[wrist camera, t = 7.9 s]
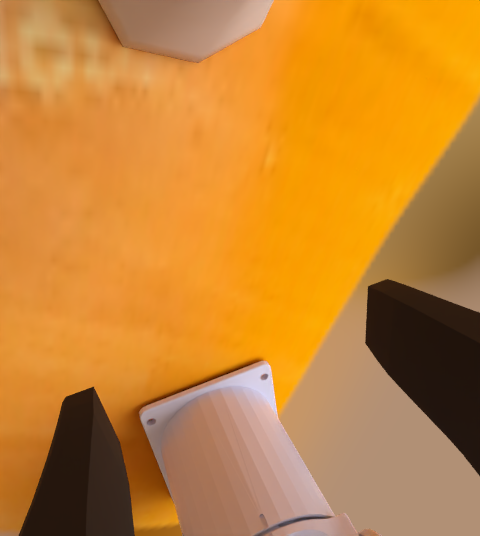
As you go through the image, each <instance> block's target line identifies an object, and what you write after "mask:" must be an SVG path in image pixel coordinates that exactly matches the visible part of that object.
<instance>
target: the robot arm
mask: <svg viewBox="0 0 480 536" xmlns="http://www.w3.org/2000/svg"><path fill="white" fill-rule="evenodd" d="M365 343H366V345H367V346H368V348H369V349H370V350H371V352H372V353H373V355H374V356H375V358H376V359H377V360H378V362H379V363H380V364H381V366H382V367H383V368H384V370H385V371H386V372H387V373H388V375H389V376H390V377H391V378H392V379H393V380H394V381H395V382H396V383H397V385H398V386H399V387H400V388H401V389H402V390H403V391H404V392H405V393H406V394H407V395H408V396H409V397H410V398H411V399H412V400H413V402H414V403H415V404H416V405H417V406H418V407H419V408H420V409H421V410H422V411H423V412H424V413H425V414H426V415H427V416H428V417H429V418H430V419H431V420H432V421H433V422H434V424H435V425H436V426H437V427H438V428H439V429H440V430H441V431H442V432H443V433H444V434H445V435H446V436H447V437H448V438H449V439H450V440H451V442H452V443H453V444H454V445H455V446H456V447H457V448H458V449H459V451H460V452H461V453H462V454H463V455H464V457H465V458H466V459H467V460H468V462H469V463H470V464H471V465H472V467H473V468H474V469H475V470H476V472H477V473H478V474H479V476H480V313H479V312H476V311H473V310H470V309H468V308H465V307H462V306H460V305H457V304H454V303H452V302H449V301H446V300H443V299H441V298H438V297H436V296H433V295H430V294H428V293H425V292H423V291H420V290H417V289H414V288H412V287H409V286H406V285H404V284H401V283H398V282H395V281H392V280H388V279H387V280H384V281H381V282H378V283H376V284H373V285H370V286H368V300H367V320H366V342H365ZM263 374H264V375H263ZM262 375H263V376H262ZM139 416H140V420H141V422H142V425H143V427H144V430H145V432H146V435H147V437H148V440H149V442H150V445H151V447H152V450H153V452H154V455H155V457H156V460H157V462H158V465H159V467H160V470H161V472H162V475H163V477H164V480H165V482H166V485H167V487H168V490H169V492H170V495H171V497H172V500H173V502H174V504H175V508H176V511H177V515H178V519H179V523H180V527H181V531H182V535H183V536H381V535H380V534H379V533H377V532H376V531H373V530H371V529H364V530H362V531H360V532H358V533H357V531H356V529H355V528H354V526H353V525H352V523H351V521H350V520H349V518H348V516H347V514H346V513H342V514H339V515H338V516H335V515H334V513H333V512H332V510H331V508H330V507H329V505H328V503H327V501H326V500H325V498H324V496H323V495H322V493H321V491H320V489H319V488H318V486H317V484H316V483H315V481H314V479H313V477H312V476H311V474H310V473H309V471H308V469H307V467H306V465H305V464H304V462H303V460H302V459H301V457H300V455H299V454H298V452H297V450H296V449H295V447H294V445H293V443H292V441H291V440H290V438H289V436H288V435H287V433H286V431H285V429H284V428H283V426H282V424H281V423H280V421H279V419H278V416H277V409H276V402H275V395H274V388H273V380H272V373H271V367H270V365H269V363H268V362H267V361H260V362H257V363H255V364H252V365H249V366H247V367H244V368H242V369H239V370H237V371H234V372H231V373H229V374H226V375H224V376H221V377H219V378H216V379H213V380H211V381H208V382H206V383H203V384H201V385H198V386H195V387H193V388H190V389H188V390H185V391H183V392H180V393H177V394H175V395H172V396H170V397H167V398H165V399H162V400H159V401H157V402H154V403H152V404H149V405H146V406H144V407H143V408H142V409H141V410H140V412H139ZM149 419H152V420H149ZM19 536H135V535H134V525H133V516H132V507H131V498H130V489H129V482H128V478H127V473H126V468H125V464H124V459H123V455H122V450H121V446H120V442H119V440H118V438H117V436H116V433H115V431H114V429H113V427H112V425H111V423H110V421H109V418H108V416H107V414H106V412H105V410H104V408H103V406H102V404H101V401H100V399H99V397H98V395H97V393H96V391H95V389H94V387H92V388H89V389H86V390H83V391H81V392H78V393H75V394H73V395H70V396H67V397H66V398H65V399H64V401H63V402H62V406H61V411H60V415H59V418H58V422H57V426H56V430H55V433H54V437H53V440H52V443H51V447H50V450H49V453H48V457H47V460H46V463H45V466H44V469H43V471H42V474H41V477H40V480H39V483H38V486H37V489H36V492H35V495H34V498H33V500H32V503H31V506H30V508H29V511H28V513H27V516H26V518H25V521H24V523H23V526H22V529H21V531H20V534H19Z"/></svg>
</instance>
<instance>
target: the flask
mask: <svg viewBox="0 0 480 536" xmlns="http://www.w3.org/2000/svg"><path fill="white" fill-rule="evenodd" d="M98 1H99V3H100V5H101V6H102V8H103V10H104V12H105V14H106V16H107V18H108V19H109V21H110V23H111V25H112V27H113V29H114V31H115V32H116V34H117V36H118V38H119V40H120V42H121V44H122V45H123V47H128V48H132V49H137V50H141V51H146V52H150V53H155V54H159V55H164V56H168V57H173V58H177V59H182V60H187V61H191V62H196V63H199V62H201V61H203V60H204V59H206V58H208V57H210V56H211V55H213V54H215V53H217V52H218V51H220V50H222V49H224V48H226V47H227V46H229V45H231V44H233V43H234V42H236V41H238V40H240V39H241V38H243V37H245V36H247V35H248V34H250V33H252V32H254V31H256V30H257V29H259V28H260V27H261V25H262V24H263V22H264V20H265V18H266V16H267V13H268V11H269V9H270V7H271V5H272V3H273V0H98Z"/></svg>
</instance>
